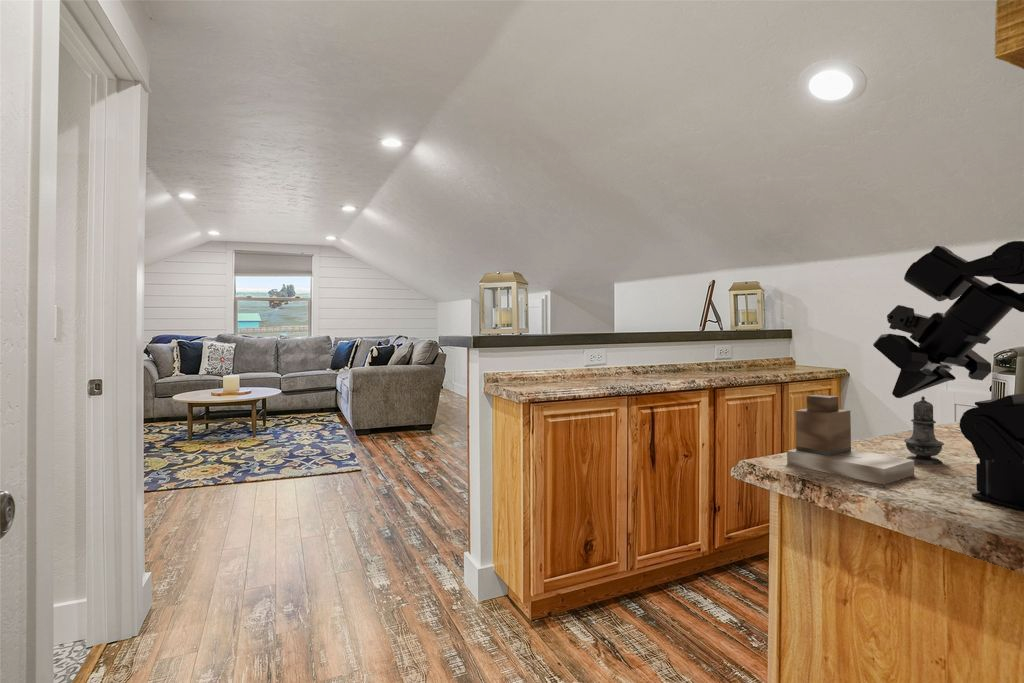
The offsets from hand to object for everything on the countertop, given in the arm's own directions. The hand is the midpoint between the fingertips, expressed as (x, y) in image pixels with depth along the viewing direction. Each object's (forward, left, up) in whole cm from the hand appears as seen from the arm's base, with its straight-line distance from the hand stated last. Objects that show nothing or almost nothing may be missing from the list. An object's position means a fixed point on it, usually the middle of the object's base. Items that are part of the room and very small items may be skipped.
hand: (895, 396), depth 86 cm
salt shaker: (+7, -15, -14) cm, 22 cm away
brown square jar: (+11, +4, -11) cm, 16 cm away
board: (+7, +2, -14) cm, 15 cm away
